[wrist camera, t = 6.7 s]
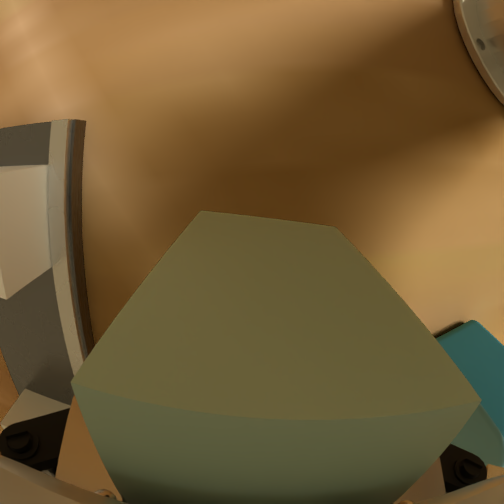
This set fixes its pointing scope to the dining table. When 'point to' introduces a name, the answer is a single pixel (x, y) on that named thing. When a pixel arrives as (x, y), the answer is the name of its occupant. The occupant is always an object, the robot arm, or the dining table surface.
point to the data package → (480, 389)
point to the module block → (268, 374)
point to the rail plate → (58, 276)
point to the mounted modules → (24, 258)
